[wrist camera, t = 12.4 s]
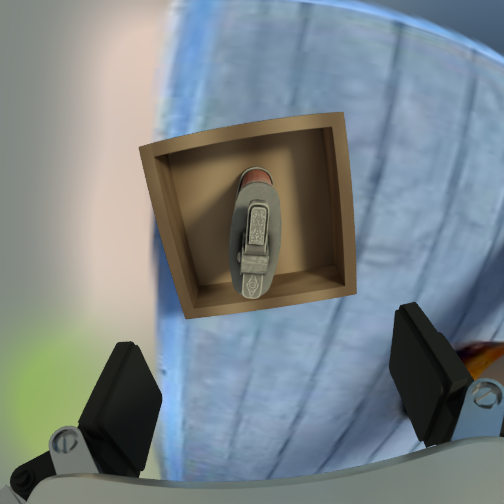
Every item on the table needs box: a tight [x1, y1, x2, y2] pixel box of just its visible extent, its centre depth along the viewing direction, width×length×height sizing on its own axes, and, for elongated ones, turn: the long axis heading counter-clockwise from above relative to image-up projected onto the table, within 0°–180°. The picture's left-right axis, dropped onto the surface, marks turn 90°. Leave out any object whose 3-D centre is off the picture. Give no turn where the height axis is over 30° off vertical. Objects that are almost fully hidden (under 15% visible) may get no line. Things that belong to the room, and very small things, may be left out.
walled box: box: [139, 112, 357, 319], centre depth 26 cm, size 15×15×5 cm
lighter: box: [229, 166, 282, 299], centre depth 23 cm, size 8×3×10 cm, turn 176°
